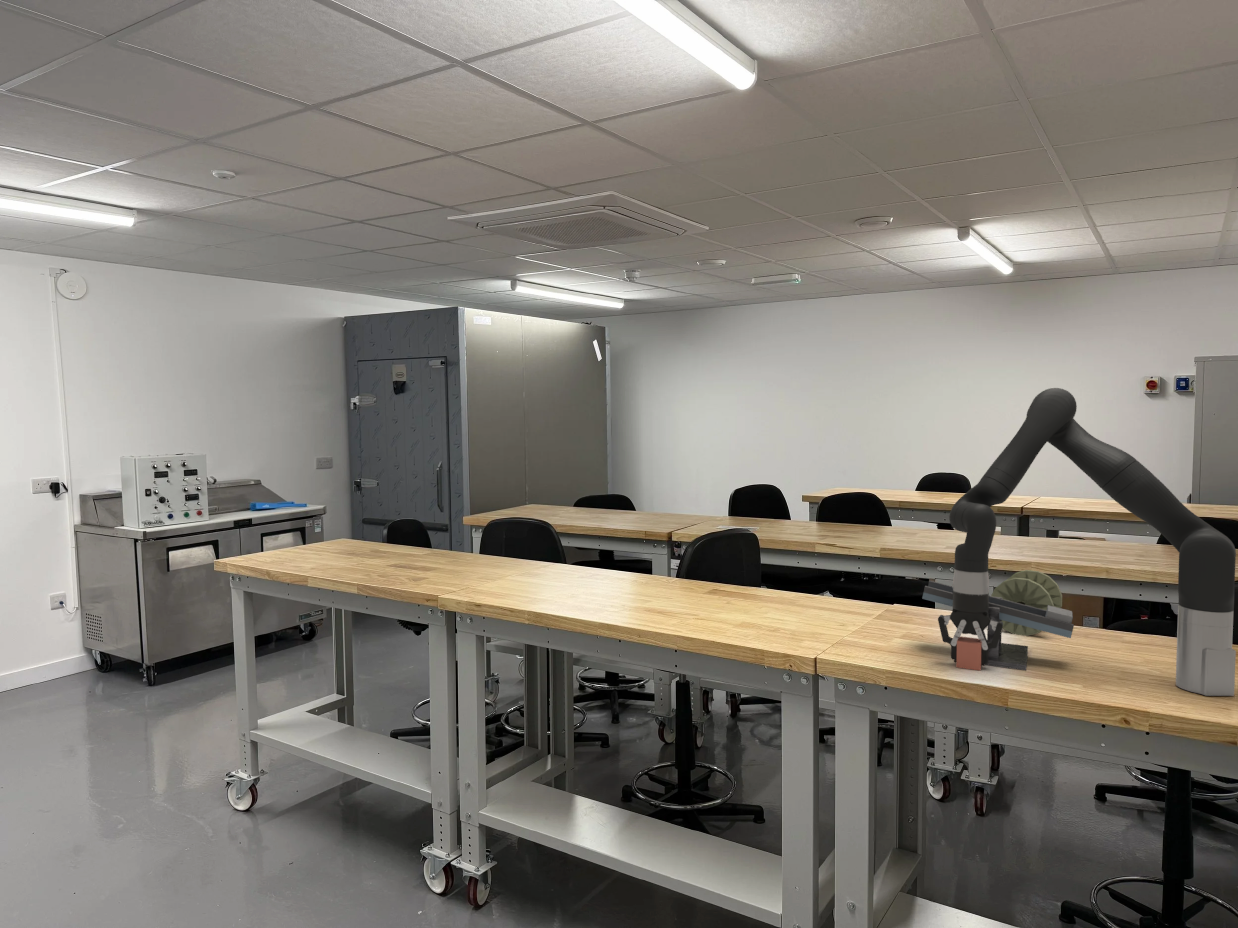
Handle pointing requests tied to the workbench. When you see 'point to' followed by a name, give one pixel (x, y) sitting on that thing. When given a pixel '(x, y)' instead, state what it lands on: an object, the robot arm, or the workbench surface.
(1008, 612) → the balance beam
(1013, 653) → the pivot stand
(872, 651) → the workbench surface
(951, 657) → the robot arm
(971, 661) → the block
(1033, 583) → the spool
